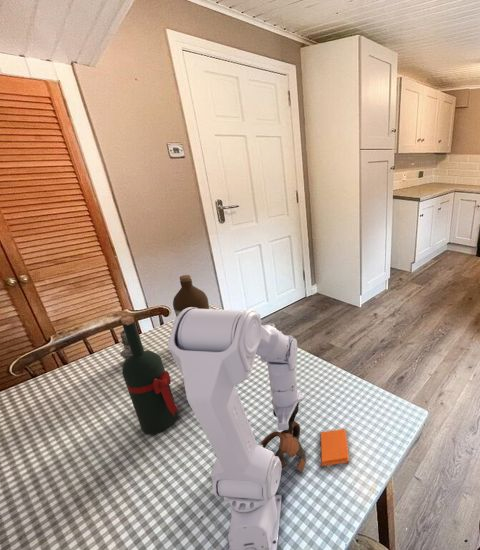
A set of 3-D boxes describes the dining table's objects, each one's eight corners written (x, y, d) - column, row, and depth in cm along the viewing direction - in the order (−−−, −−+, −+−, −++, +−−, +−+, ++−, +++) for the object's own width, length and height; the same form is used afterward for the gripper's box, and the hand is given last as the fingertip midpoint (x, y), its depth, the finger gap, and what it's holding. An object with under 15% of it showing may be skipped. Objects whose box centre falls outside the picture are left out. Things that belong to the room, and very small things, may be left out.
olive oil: (198, 329, 117) (185, 269, 108) (221, 334, 114) (209, 272, 105) (175, 345, 107) (158, 280, 98) (200, 350, 105) (184, 284, 95)
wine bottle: (167, 440, 72) (132, 331, 61) (133, 431, 74) (94, 324, 63) (193, 414, 79) (165, 313, 68) (161, 406, 81) (130, 307, 70)
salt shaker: (126, 356, 101) (115, 325, 97) (147, 352, 103) (137, 321, 99) (121, 367, 96) (109, 335, 92) (143, 362, 98) (133, 330, 94)
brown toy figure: (301, 488, 62) (276, 470, 58) (267, 489, 66) (242, 472, 62) (318, 430, 72) (298, 411, 68) (288, 433, 75) (267, 416, 72)
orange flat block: (349, 462, 67) (348, 458, 66) (321, 466, 66) (321, 462, 66) (345, 431, 74) (345, 428, 74) (320, 435, 73) (320, 431, 73)
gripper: (300, 405, 62) (305, 451, 67) (302, 360, 75) (306, 402, 80) (264, 409, 61) (272, 456, 66) (273, 363, 74) (279, 405, 79)
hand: (289, 427), depth 73 cm, fingers closed
